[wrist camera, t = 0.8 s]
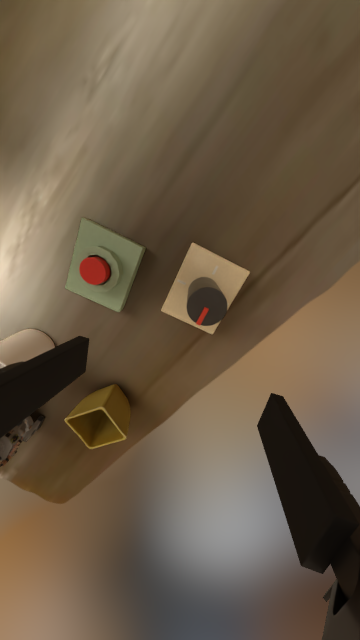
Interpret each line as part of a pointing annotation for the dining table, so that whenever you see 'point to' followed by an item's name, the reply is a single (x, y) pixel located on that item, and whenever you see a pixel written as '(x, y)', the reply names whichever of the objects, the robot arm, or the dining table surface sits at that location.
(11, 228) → the dining table surface
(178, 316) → the dimmer panel
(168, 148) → the dining table surface
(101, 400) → the flower pot
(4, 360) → the cup
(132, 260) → the switch box
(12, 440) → the figurine
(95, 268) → the button
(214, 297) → the dimmer knob
